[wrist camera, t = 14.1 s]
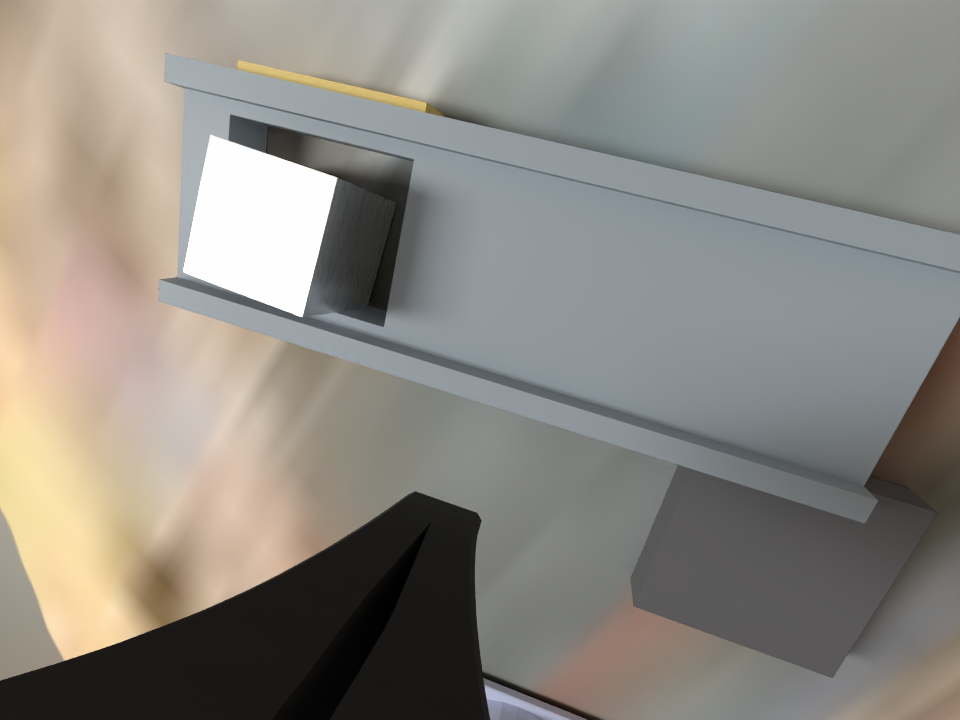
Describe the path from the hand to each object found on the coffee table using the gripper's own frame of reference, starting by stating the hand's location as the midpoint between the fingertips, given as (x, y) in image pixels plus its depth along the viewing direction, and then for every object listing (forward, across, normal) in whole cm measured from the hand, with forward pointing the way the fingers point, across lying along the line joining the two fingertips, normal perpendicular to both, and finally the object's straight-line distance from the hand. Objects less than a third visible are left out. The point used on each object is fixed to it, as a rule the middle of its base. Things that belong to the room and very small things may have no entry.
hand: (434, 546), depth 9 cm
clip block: (+10, +8, -3) cm, 13 cm away
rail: (+10, +1, -4) cm, 11 cm away
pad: (+10, -10, +3) cm, 14 cm away
